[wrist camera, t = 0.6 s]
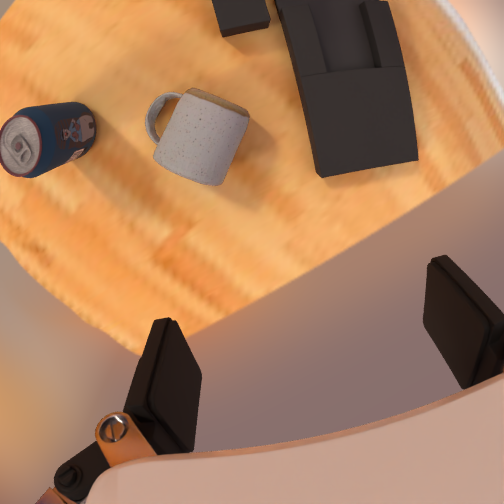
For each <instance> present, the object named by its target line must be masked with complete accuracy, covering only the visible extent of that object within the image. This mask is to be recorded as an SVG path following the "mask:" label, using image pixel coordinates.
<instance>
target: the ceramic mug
mask: <svg viewBox="0 0 504 504" xmlns="http://www.w3.org/2000/svg"><path fill="white" fill-rule="evenodd" d="M172 98H180V100H179V102H178V103H177V105H176V108H175V110H174V112H173V114H172V116H171V119H170V121H169V123H168V125H167V127H166V129H165V131H164V133H163V135H162V137H161V139H160V137H159V136H158V135H157V133H156V130H155V120H156V118H157V116H158V114H159V112H160V110H161V109H162V107H163V106H164V105H165V102H166V101H168V100H169V99H172ZM249 117H250V116H249V113H248V111H247V110H246V109H244V108H242V107H240V106H238V105H235V104H233V103H231V102H229V101H226V100H224V99H222V98H220V97H217V96H214V95H212V94H209V93H207V92H204V91H201V90H199V89H196V88H191V89H189V90H187V91H186V92H185V93H184V94H180V93H175V92H168V93H164V94H162V95H160V96H159V97H158V98H156V99H155V100H154V102H153V103H152V104H151V106H150V108H149V110H148V112H147V114H146V119H145V126H146V131H147V133H148V135H149V137H150V138H151V140H152V141H153V142H154V143H155V144H157V147H156V150H155V152H154V155H153V158H154V160H155V161H156V162H157V163H158V164H160V165H161V166H163V167H164V168H166V169H167V170H169V171H171V172H173V173H175V174H177V175H179V176H182V177H184V178H187V179H190V180H192V181H195V182H198V183H201V184H205V185H212V186H217V185H221V184H222V183H223V181H224V178H225V176H226V174H227V171H228V169H229V167H230V164H231V162H232V160H233V158H234V156H235V153H236V151H237V148H238V146H239V144H240V142H241V140H242V138H243V135H244V133H245V131H246V129H247V125H248V122H249Z"/></svg>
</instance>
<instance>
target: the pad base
mask: <svg viewBox="0 0 504 504" xmlns="http://www.w3.org/2000/svg"><path fill="white" fill-rule="evenodd" d="M275 4H276V7H277V10H278V14H279V17H280V21H281V24H282V28H283V31H284V35H285V38H286V42H287V46H288V50H289V53H290V57H291V61H292V65H293V69H294V73H295V77H296V81H297V85H298V89H299V93H300V98H301V102H302V106H303V111H304V115H305V120H306V125H307V129H308V134H309V139H310V144H311V149H312V154H313V159H314V164H315V169H316V173H317V174H318V175H319V176H320V177H321V178H324V177H329V176H334V175H339V174H344V173H349V172H355V171H360V170H365V169H371V168H376V167H382V166H388V165H393V164H399V163H405V162H411V161H418V160H419V159H418V149H417V140H416V131H415V124H414V116H413V110H412V103H411V97H410V91H409V86H408V81H407V75H406V70H405V66H404V61H403V57H402V52H401V48H400V44H399V40H398V36H397V32H396V28H395V25H394V21H393V18H392V14H391V11H390V7H389V4H388V1H379V0H275Z"/></svg>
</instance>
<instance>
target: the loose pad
mask: <svg viewBox="0 0 504 504" xmlns="http://www.w3.org/2000/svg"><path fill="white" fill-rule="evenodd" d="M212 3H213V6H214V10H215V13H216V17H217V21H218V24H219V28H220V31H221V34H222V37H227V36H231V35H236V34H240V33H245V32H249V31H254V30H259V29H265V28H268V27H269V23H270V16H269V13H268V9H267V6H266V3H265V0H212Z"/></svg>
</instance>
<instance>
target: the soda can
mask: <svg viewBox="0 0 504 504" xmlns="http://www.w3.org/2000/svg"><path fill="white" fill-rule="evenodd" d="M95 136H96V122H95V118H94V116H93V114H92V112H91V111H90V110H89V109H88V108H87V107H86V106H85V105H83V104H81V103H78V102H67V103H57V104H49V105H41V106H33V107H27V108H23V109H21V110H19V111H18V112H17V113H16V114H15V115H14V116H13V117H11V118H10V119H8V120H7V121H6V122H5V123H4V125H3V126H2V128H1V130H0V163H1V165H2V166H3V168H4V169H5V170H6V171H7V172H8V173H9V174H11V175H13V176H16V177H21V176H22V177H25V178H34V177H37V176H39V175H41V174H43V173H45V172H48V171H50V170H52V169H54V168H56V167H58V166H61V165H63V164H65V163H67V162H70V161H72V160H74V159H77V158H79V157H81V156H83V155H84V154H85V153H86V152H87V151H88V150H89V149H90V148H91V146H92V144H93V142H94V139H95Z"/></svg>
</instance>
